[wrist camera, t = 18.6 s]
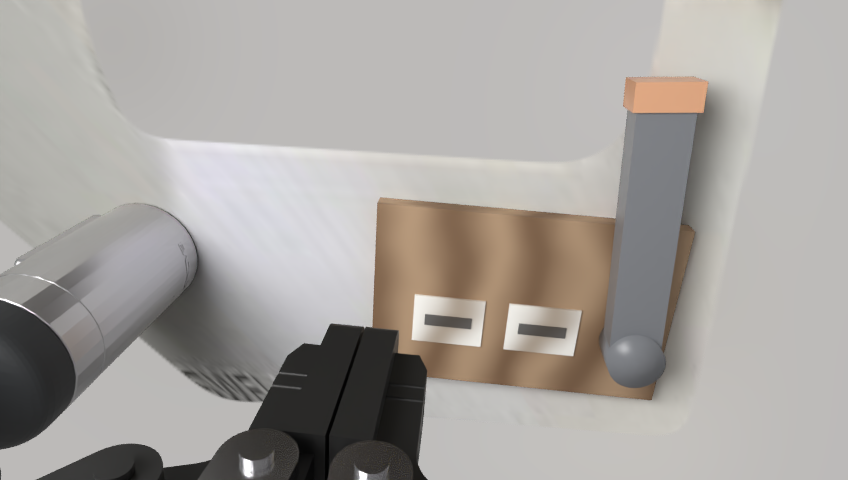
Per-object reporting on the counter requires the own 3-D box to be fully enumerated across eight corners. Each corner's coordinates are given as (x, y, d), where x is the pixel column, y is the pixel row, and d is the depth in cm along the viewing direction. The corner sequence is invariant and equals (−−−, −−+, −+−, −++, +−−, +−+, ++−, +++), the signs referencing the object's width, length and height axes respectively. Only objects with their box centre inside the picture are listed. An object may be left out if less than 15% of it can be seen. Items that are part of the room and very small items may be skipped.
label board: (373, 361, 55) (370, 372, 53) (380, 197, 49) (376, 204, 47) (646, 389, 54) (652, 402, 52) (688, 225, 47) (696, 233, 46)
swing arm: (650, 362, 50) (663, 389, 47) (595, 361, 51) (603, 387, 47) (692, 76, 41) (711, 82, 38) (625, 76, 42) (638, 83, 38)
